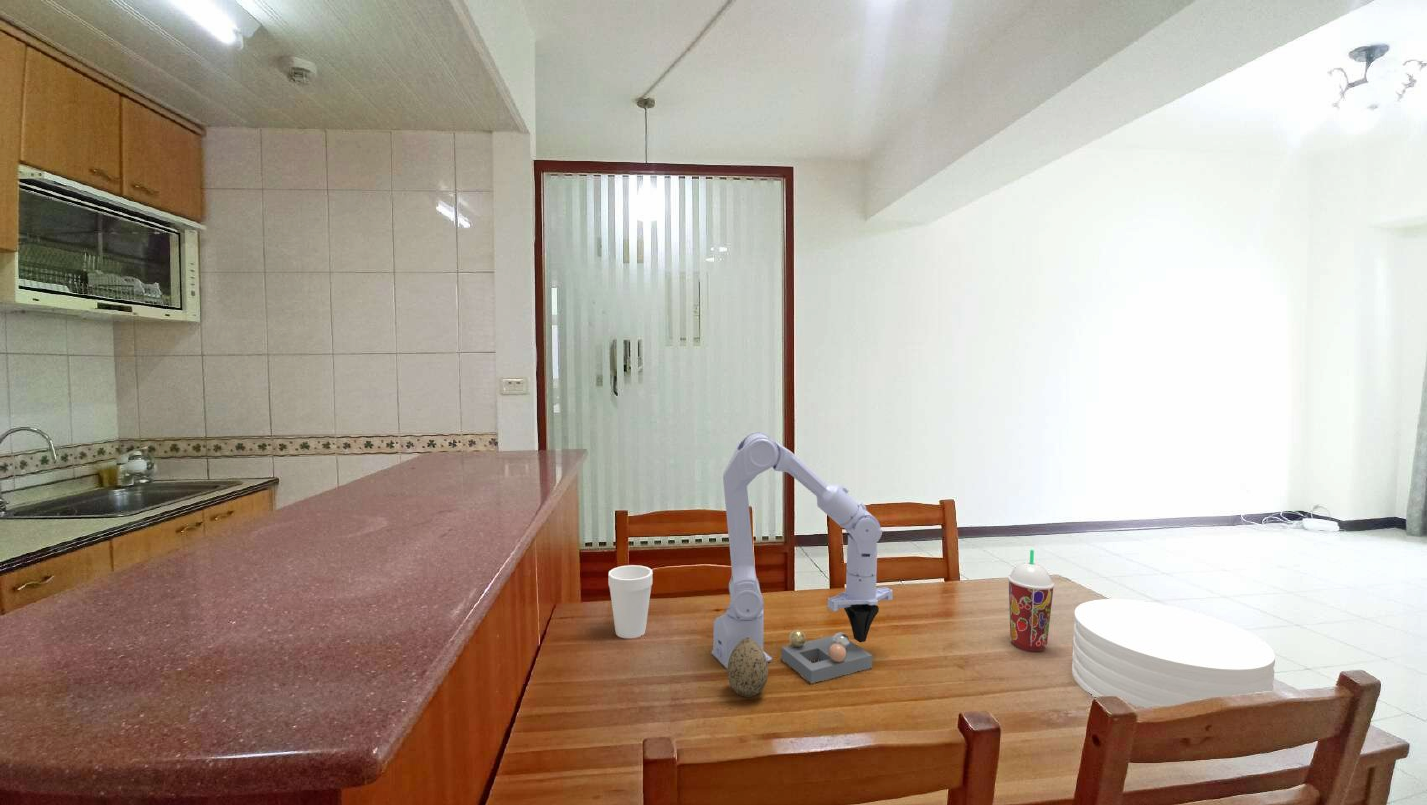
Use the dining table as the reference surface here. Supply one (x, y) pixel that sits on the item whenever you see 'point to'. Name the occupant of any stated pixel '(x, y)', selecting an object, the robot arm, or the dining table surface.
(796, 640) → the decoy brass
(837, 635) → the steel ball
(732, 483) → the robot arm
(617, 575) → the foam cup
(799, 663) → the grey tray with hole
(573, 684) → the dining table surface
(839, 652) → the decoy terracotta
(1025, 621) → the smoothie
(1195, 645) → the plate stack
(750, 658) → the decorative egg
